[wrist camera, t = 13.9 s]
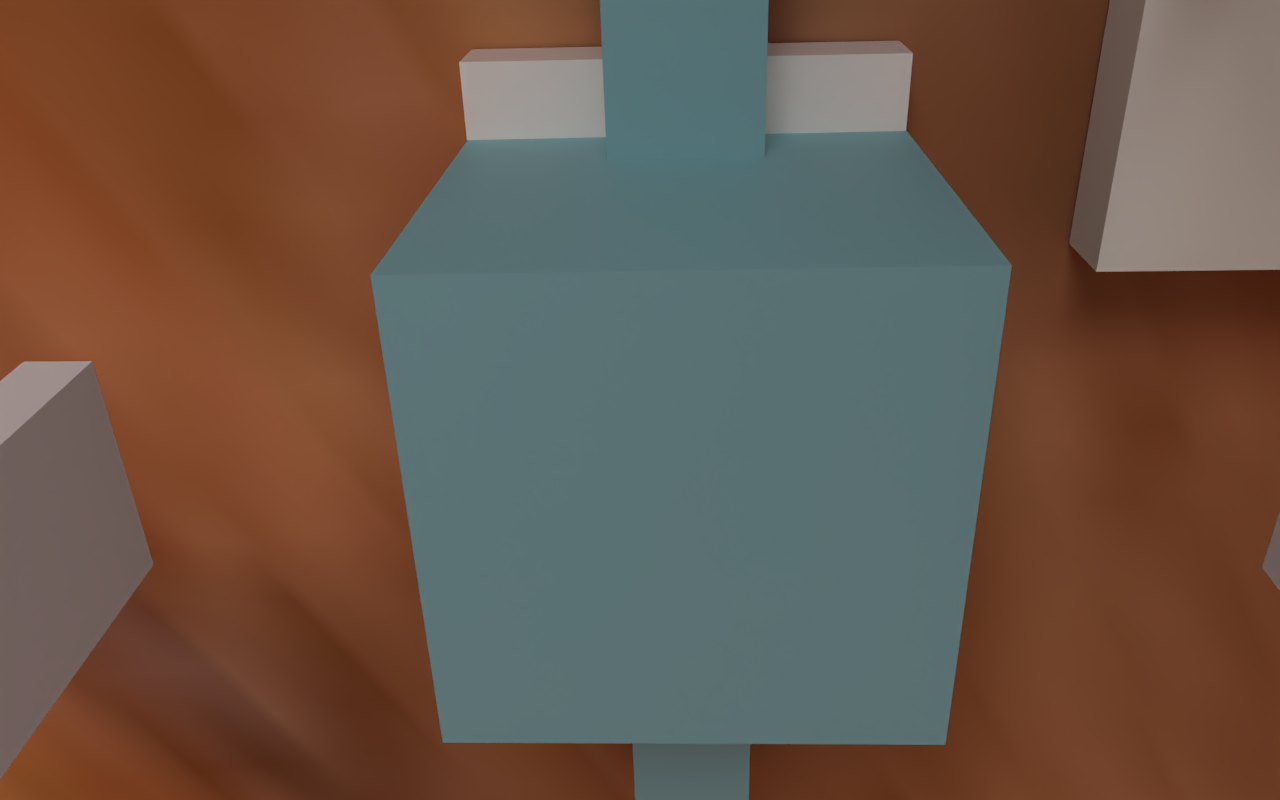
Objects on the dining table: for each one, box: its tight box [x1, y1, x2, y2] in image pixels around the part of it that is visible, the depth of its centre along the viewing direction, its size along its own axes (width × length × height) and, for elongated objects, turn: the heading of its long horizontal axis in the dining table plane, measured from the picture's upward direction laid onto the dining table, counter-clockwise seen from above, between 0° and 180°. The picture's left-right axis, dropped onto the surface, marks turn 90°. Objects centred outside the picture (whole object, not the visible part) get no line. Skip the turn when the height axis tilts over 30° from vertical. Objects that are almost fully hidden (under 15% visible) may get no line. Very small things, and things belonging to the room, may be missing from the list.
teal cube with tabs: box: [370, 0, 1012, 800], centre depth 14 cm, size 6×19×5 cm, turn 2°
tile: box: [459, 41, 913, 140], centre depth 16 cm, size 8×6×1 cm
